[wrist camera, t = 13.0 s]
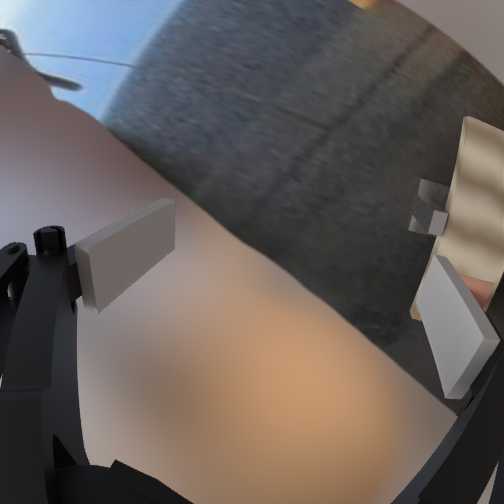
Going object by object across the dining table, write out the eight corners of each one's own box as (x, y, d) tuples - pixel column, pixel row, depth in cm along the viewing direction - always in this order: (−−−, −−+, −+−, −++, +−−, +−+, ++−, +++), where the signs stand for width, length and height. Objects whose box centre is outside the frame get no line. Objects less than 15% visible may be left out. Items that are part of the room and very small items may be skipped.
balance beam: (462, 116, 28) (469, 116, 26) (530, 147, 26) (538, 149, 24) (409, 310, 40) (411, 319, 38) (472, 322, 38) (477, 330, 36)
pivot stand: (419, 177, 39) (439, 190, 31) (505, 206, 36) (535, 224, 28) (406, 227, 43) (421, 251, 34) (491, 251, 39) (516, 276, 31)
